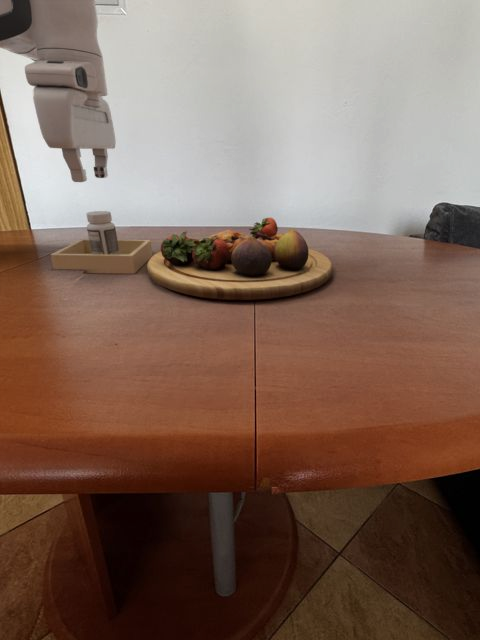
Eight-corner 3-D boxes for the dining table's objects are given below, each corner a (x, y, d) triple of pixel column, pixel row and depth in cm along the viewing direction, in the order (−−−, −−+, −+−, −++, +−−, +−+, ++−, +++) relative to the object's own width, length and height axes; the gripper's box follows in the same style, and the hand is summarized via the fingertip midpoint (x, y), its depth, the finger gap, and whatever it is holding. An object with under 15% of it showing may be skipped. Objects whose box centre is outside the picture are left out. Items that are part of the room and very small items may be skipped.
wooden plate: (229, 243, 87) (228, 205, 83) (360, 267, 71) (367, 221, 67) (108, 275, 63) (99, 224, 60) (262, 322, 47) (263, 256, 43)
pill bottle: (118, 256, 72) (111, 210, 69) (122, 262, 69) (114, 213, 65) (92, 258, 71) (83, 211, 67) (94, 264, 67) (84, 215, 63)
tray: (54, 272, 64) (50, 254, 63) (84, 254, 75) (81, 238, 74) (134, 273, 65) (132, 255, 63) (152, 255, 76) (150, 240, 74)
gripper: (81, 88, 66) (95, 175, 72) (16, 65, 48) (42, 183, 54) (118, 89, 66) (128, 176, 73) (66, 67, 48) (86, 185, 55)
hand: (91, 179), depth 63 cm, fingers open, 8 cm apart
